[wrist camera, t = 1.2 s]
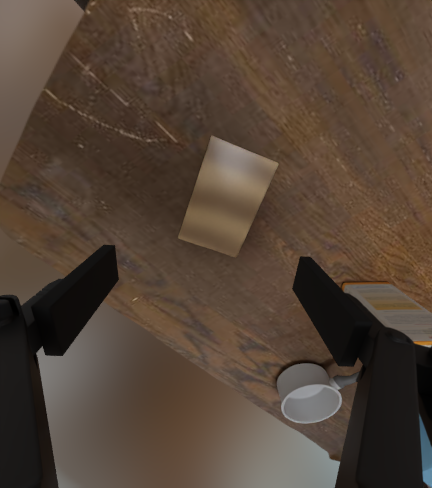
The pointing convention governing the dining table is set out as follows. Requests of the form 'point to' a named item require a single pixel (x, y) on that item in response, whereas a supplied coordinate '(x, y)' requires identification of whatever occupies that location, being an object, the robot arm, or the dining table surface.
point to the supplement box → (394, 309)
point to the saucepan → (310, 392)
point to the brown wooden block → (226, 197)
